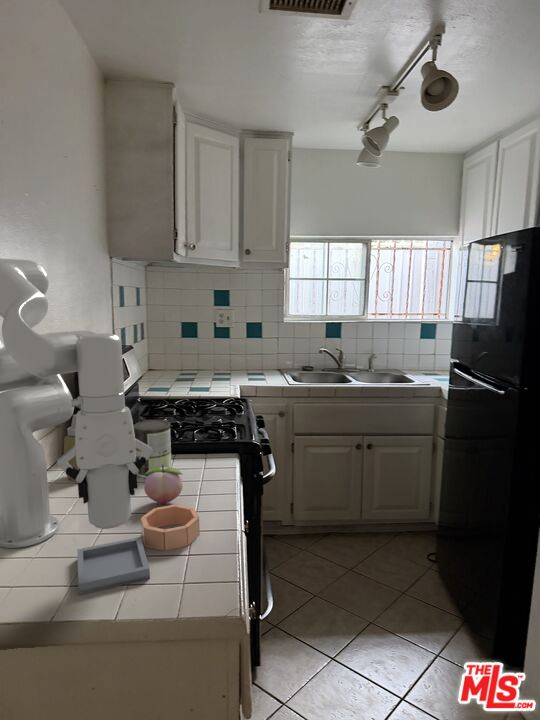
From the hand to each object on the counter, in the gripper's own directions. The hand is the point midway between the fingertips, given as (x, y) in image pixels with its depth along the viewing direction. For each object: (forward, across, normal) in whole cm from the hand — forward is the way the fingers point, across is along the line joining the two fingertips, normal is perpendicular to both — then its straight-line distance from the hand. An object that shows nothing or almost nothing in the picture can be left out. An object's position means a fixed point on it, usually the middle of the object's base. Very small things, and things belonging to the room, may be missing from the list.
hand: (108, 495), depth 87 cm
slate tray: (+14, 0, 0) cm, 14 cm away
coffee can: (+15, +15, +46) cm, 51 cm away
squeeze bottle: (+14, -5, +50) cm, 52 cm away
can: (+5, 0, 0) cm, 5 cm away
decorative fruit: (+15, +14, +24) cm, 31 cm away
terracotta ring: (+14, +12, +8) cm, 21 cm away
